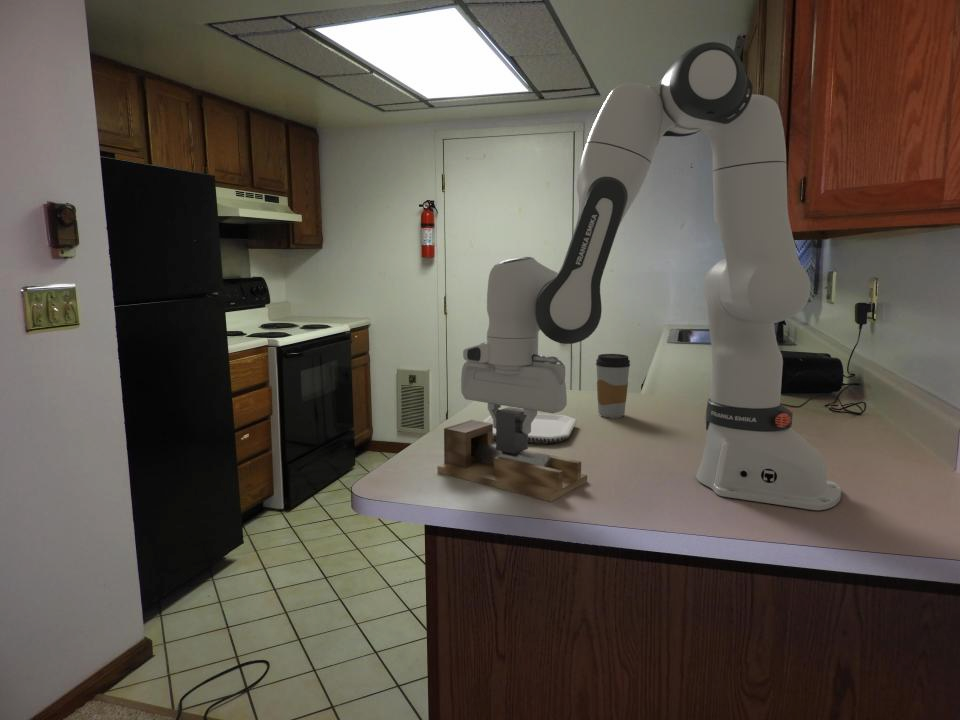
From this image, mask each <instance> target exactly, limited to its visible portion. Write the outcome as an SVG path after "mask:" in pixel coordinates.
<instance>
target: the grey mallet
mask: <svg viewBox="0 0 960 720" xmlns="http://www.w3.org/2000/svg"><path fill="white" fill-rule="evenodd" d="M526 416H527V415H524V409H522V408H516V407H510V406H507V407H505V408H501V409H499V410H498V411H496V440H495V444H493V445H492V444H487V443H482V442H481V443H479V444H478V445H477V446H476V449H475V453H474V456H475V460H476V461H477V462H481V463H485V464H489V465H494V458H495V457H498V456H499V457H503V458H508V459H512V460H517V461H521V462H526V463H530V464H535V465H539V466H544V467H548V468H551V459H550V457H548V456H544V455H539V454H535V453H530V452H525V451H523V450H528V449H529V448H528V446H529V445H528V444H529V442H528V434H522V433H519V423H522V422H524V420H525V418H526Z"/></svg>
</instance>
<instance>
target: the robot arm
mask: <svg viewBox="0 0 960 720" xmlns="http://www.w3.org/2000/svg"><path fill="white" fill-rule="evenodd" d="M748 90H749V93H748ZM753 92H754V86H753V83H752V81H751V80H750V77H749V76H748V74H747V73H746V70H745V68H744V64H743V62H742V60H741V58H740V57H739V55H738V53H736V51H734V50H733V48H732V47H730V46H729V45H726V44H725V43H721V42H717V41H716V42H714V41H710V42H703V43H699V44H698V45H695V46H692V47H691V48H689V49H687V50H686V51H685V52H683V53H682V54H681V55H680V56H679V57H678V59H677V60H676V61H674V63H673V64H671V66H670V67H669V69H667V70H666V72H665V74H664V75H663V77H662V78H661V79H660V81H659V82H658V83H657V84H655V85H646V84H643V83H640V82H624V83H622V84H619V85H617V86H615V87H614V88H613V89H612V90H611V91H610V93H609V94H608V95H607V97H606V99H605V101H604V102H603V104H602V106H601V108H600V110H599V112H598V113H597V116H596V118H595V120H594V123H593V124H592V128H591V130H590V132H589V135H588V137H587V140H586V142H585V146H584V149H583V151H582V156H581V159H580V163H579V168H578V174H577V180H576V191H577V195H578V196H577V197H578V212H577V213H578V214H577V220H576V223H575V227H574V230H573V234H572V236H571V240H570V242H569V245H568V248H567V251H566V253H565V256H564V259H563V263H562V264H561V267H560V269H559V272H558V271H555V270H553V269H551V268H548V267H547V266H545V265H543V264H542V263H541V262H539V261H537V260H536V259H535V258H534V257H531V256H523V257H522V256H521V257H515V258H511V259H506V260H502V261H500V262H497V263H496V264H495V265H494V266H493V267H492V268H491V270H490V272H489V275H488V281H487V290H486V311H487V316H488V321H489V322H488V327H487V332H486V342H482V343H480V344H477V345H473V346H470V347H467V348H465V349H463V351H462V358H463V359H464V360H465V362H464V363H463V364H462V367H461V377H460V379H461V381H460V390H461V395H462V396H463V397H464V399H465V400H467V401H474V402H479V403H486V404H487V410H488V412H489V414H490V415H491V416H492V419H493V428H496V411H498V410H500V408H501V407H502V406H505V407H513V408H519V409H524V415H527V416H526V418H525V420H524V422H522V423H519V433H522V434H529V433H530V432H531V423H532V422H533V420H534V418H535V417H536V415H537V414H538V412H543V413H546V414H547V413H548V414H557V413H560V412H562V411H564V409H565V408H566V407H567V404H568V403H567V402H568V399H567V397H568V395H567V385H566V366H565V364H564V363H563V362H562V361H561V360H560V359H559V358H558V357H556V356H545V355H541V354H539V332H540V331H541V332H542V333H543V334H544V335H545V337H546V338H548V339H550V340H551V341H553V342H555V343H559V344H563V345H572V344H577V343H580V342H582V341H584V340H586V339H587V338H589V337H591V335H592V334H593V333H594V332H596V330H597V328H598V327H599V324H600V321H601V319H602V298H601V283H602V278H603V274H604V272H605V268H606V265H607V263H608V260H609V257H610V253H611V250H612V247H613V244H614V242H615V239H616V236H617V232H618V229H619V228H620V226H621V225H620V224H621V223H622V221H623V219H624V218H625V216H626V214H627V213H628V211H629V210H630V208H631V206H632V204H633V202H634V201H635V199H636V197H637V195H638V194H639V192H640V190H641V188H642V186H643V184H644V182H645V180H646V177H647V175H648V173H649V170H650V167H651V164H652V162H653V159H654V156H655V152H656V149H657V147H658V146H659V145H658V144H659V143H660V141H661V140H662V138H663V137H675V138H676V137H689V136H692V135H694V134H697V133H698V132H700V131H702V133H704V134H705V135H706V138H707V139H708V141H709V143H710V147H711V152H712V191H713V193H712V195H713V196H712V197H713V220H714V223H715V226H716V227H717V230H718V232H719V235H720V239H721V242H722V243H721V244H722V247H723V252H724V257H725V258H722V259H720V261H718V262H717V263H714V265H713V266H712V267H710V269H709V270H708V271H707V273H706V274H705V277H704V279H703V282H702V283H703V284H702V290H703V294H704V298H705V301H706V308H707V321H708V328H709V336H710V344H711V377H710V378H711V379H710V394H709V396H710V397H709V398H708V399H707V405H706V409H705V410H706V411H705V429H706V431H707V432H706V438H705V444H704V448H703V452H702V453H703V454H702V457H701V460H700V464H699V466H698V470H697V472H696V475H695V478H696V480H698V482H699V483H701V484H702V485H704V486H706V487H708V488H710V489H712V491H714V493H715V494H716V495H718V496H720V497H726V498H732V499H739V500H743V501H752V502H757V503H766V504H769V505H770V504H773V505H778V506H783V507H784V506H786V507H790V508H798V509H804V510H811V511H823V510H824V511H825V510H828V509H830V508H833V507H835V506H836V505H837V504H839V502H840V500H841V498H842V489H841V487H840V485H839V484H838V483H836V482H834V481H832V480H828V475H827V474H828V473H827V465H826V462H825V459H824V457H823V454H822V453H821V452H820V451H819V450H818V449H816V447H814V446H812V445H811V444H810V443H809V442H808V441H807V440H806V439H804V438H803V437H802V436H801V434H798V432H796V431H795V430H794V429H793V428H792V425H793V416H794V414H793V413H794V409H793V408H791V409H788V408H787V407H786V406H784V405H783V404H782V403H781V396H782V394H781V392H782V381H783V380H782V379H783V378H782V377H783V365H784V359H783V354H782V352H781V350H780V347H779V344H778V340H777V335H776V330H775V323H779V322H780V323H781V322H782V321H786V320H789V319H791V318H793V317H795V316H797V315H798V314H799V313H800V312H801V311H802V310H803V309H804V307H805V306H806V305H807V303H808V301H809V299H810V296H811V280H810V277H809V275H808V273H807V271H806V270H805V268H804V267H803V265H802V264H801V262H800V259H799V256H798V253H797V249H796V245H795V240H794V236H793V232H792V231H793V230H792V228H791V227H792V226H791V224H790V217H789V210H788V209H789V207H788V179H787V177H788V176H787V173H788V172H787V147H786V138H785V129H784V125H783V119H782V115H781V110H780V108H779V105H778V103H777V102H776V101H775V100H774V99H772V98H771V97H769V96H767V95H763V94H756V93H755V94H754V93H753Z"/></svg>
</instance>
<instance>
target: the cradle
mask: <svg viewBox="0 0 960 720" xmlns="http://www.w3.org/2000/svg"><path fill="white" fill-rule="evenodd" d="M493 441H494V440H493V424H491V423H486V422H483V421H479V420H476V419H475V420H474V419H471V420H467V421H464V422H461V423H457V424H454V425H451V426H447V427H444V428H443V449H444V450H443V457H444V458H443V459H444V460H443V462H444V463H442V464H438V465H437V473H438V474H443V475H446V476H449V477H454V478H458V479H461V480H465V481H470V482H473V483H478V484H481V485H485V486H489V487H491V488H492V487H493V488H496V489H500V490H505V491H508V492H513V493H516V494H520V495H524V496H527V497H532V498H536V499H540V500H542V501H543V500H544V501H547V502H549V503H550V502H553V501H556V500H557V499H559V498H560V497H562V496H564V495H566V494H567V493H569V492H571V491H573V490H575V489H577V488H578V487H581V486H582V485H584V484H586V483H587V482H588V474H584V473H582V461H580V460H575V459H570V458H566V457H562V456H556V455H551V454H547V453H541V452H537V451H532V450H528V449H526V450H523V451H525V452H530V453H535V454H539V455H544V456H548V457H550V459H551V468H548V467H544V466H539V465H535V464H530V463H526V462H521V461H517V460H512V459H508V458H503V457H499V456H498V457H495V458H494V465H489V464H485V463H481V462H477V461H476V460H475V456H474V453H475V449H476V446H477V445H478V444H479V443H481V442H482V443H487V444H492V445H494V444H493V443H494V442H493Z"/></svg>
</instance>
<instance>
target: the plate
mask: <svg viewBox="0 0 960 720" xmlns="http://www.w3.org/2000/svg"><path fill="white" fill-rule="evenodd" d="M577 421H578V420H577V419H576V418H575V417H571V416H568V415H564V414H552V413H548V414H547V413H537V415H536V417H535V418H534V420H533V422H532V423H531V432H530V433H529V434H528V443H529V442H533V443H532V444H542V443H549V444H555V443H560V442H562V441H564V440H566V439H568V438H570V436H571V434H572V431H573V429H575V426H576V424H577ZM482 422H486V423H491V424H493V419H492V416H491V414H490V415H489V416H487V417H486V418H485V419H484V420H482ZM493 441H496V428H493ZM554 442H555V443H554Z"/></svg>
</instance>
